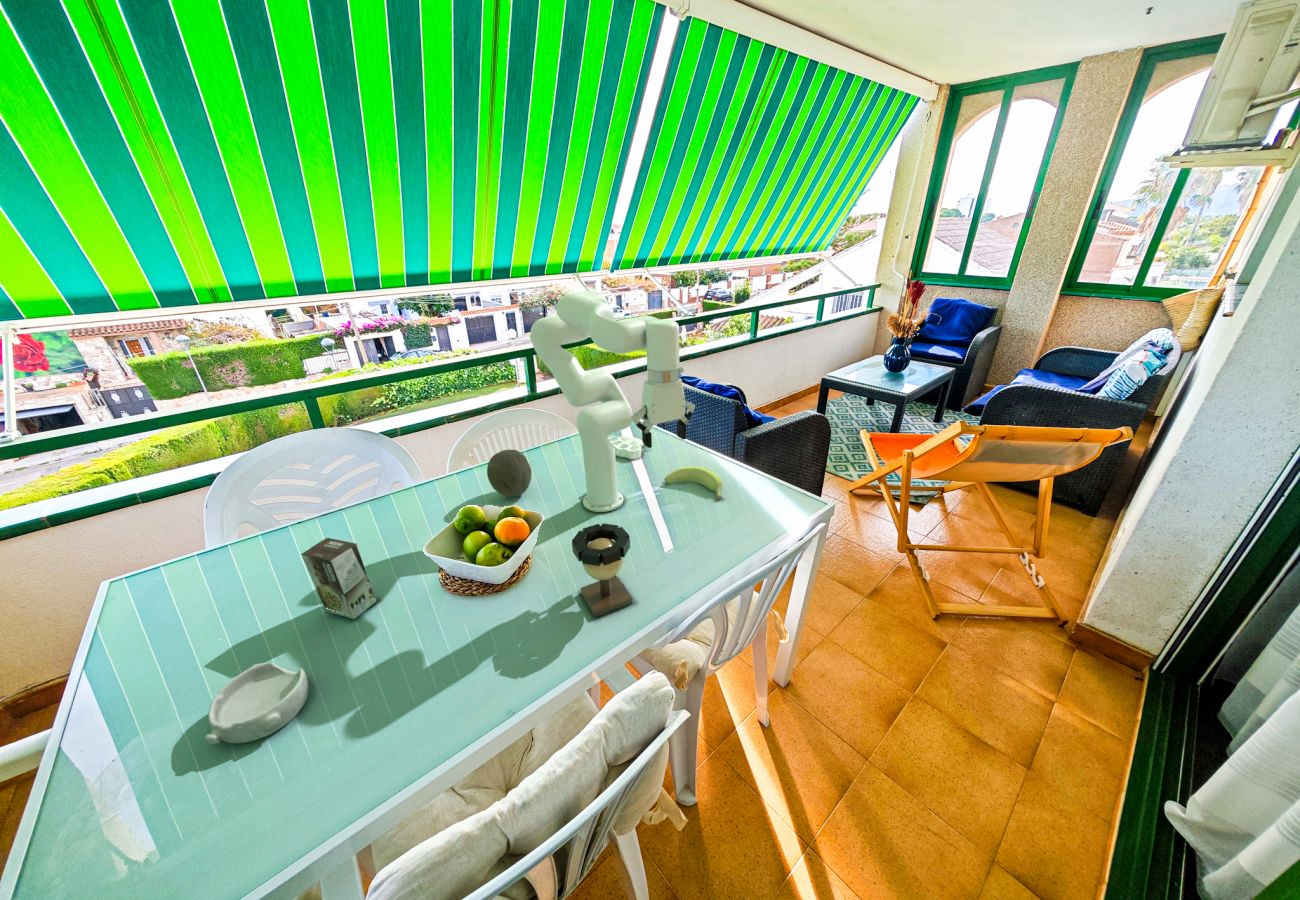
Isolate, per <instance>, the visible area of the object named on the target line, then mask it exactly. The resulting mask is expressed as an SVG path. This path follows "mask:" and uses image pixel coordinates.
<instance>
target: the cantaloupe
mask: <svg viewBox="0 0 1300 900" xmlns="http://www.w3.org/2000/svg"><path fill="white" fill-rule="evenodd" d="M532 474H533V473H532V467H531V465H530V463H529V461H528V458H527V457H526V455H525V454H524V453H523V452H521V451H519V450H517V449H503V450H500V451H499V452H496V453H495V454H493V455H492V457H491V458H490V459H489V461H488V463H487V468H486V475H487V479H488V482H489V484H490V486H491V487H492V489H493V490H494V491H495V492H497V494H499V495H501V496H503V497H506V496H507V498H514V497H518V496H522V495H523V494H525V493H526V492H527V490H528V488H529V486H530V484H531V481H532Z"/></svg>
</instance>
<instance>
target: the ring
mask: <svg viewBox="0 0 1300 900" xmlns="http://www.w3.org/2000/svg"><path fill="white" fill-rule="evenodd" d="M599 538H607V539H611V540H613V541H614V542H616V543H615V544H614V545H613V546H610V547H607V548H604V549H601V550H600V549H594V548H588V547H587V545H588V544H589V543H590V542H592V541H593V540H595V539H599ZM630 548H631V538H630V534H629V533H628V532H627V531H626V530H625V528H624V527H623V526H620V525H618V524H612V523H611V524H610V523H604V522H602V524H601V525H600V523H596V524H593V525H589V526H586V527H583V528H582V530H579V531H578V532H577V533H576V534H575V536H574V537H573V538H572V540H571V549H572V553H573V554H574V556H575V558H576V560H577V561H578V563H580V562H581V564H582V563H583V564H589V565H595V566H600V565H601V563H602V564H603V565H604V566H605V565H608V564H611V563H614V562H616V561H619V560H621V557H623V558H625V557H626V556H627V553H628V552H629V550H630ZM583 564H582V565H583Z"/></svg>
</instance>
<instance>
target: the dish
mask: <svg viewBox="0 0 1300 900" xmlns="http://www.w3.org/2000/svg"><path fill="white" fill-rule="evenodd" d="M309 690H310V689H309V680H308V677H307V674H306V671H305V670H304V669H303V668H300V669H299V670H298V672H295V671H292V670H289V669H287V668H285V667H282V666H280V665H278V664H276V663H274V662H271V661H267V662H262V663H256V664H252V666H250V667H249V668H248V669H246V670H244V671H242V672H241V673H239V674H238V675H236V676H234V677H233V678H232V679H230V681H229V682H227V683H225V685H224V686H222V687H221V688H220V689H219V691H218V693H217V694H216V696H215V697H213V698H212V700H211V703H210V705H209V709H208V715H207V717H208V718H207V719H208V724H209V726H210V728H211V732H210V733H208V734H206V735H205V738H204V739H205V741H206V742H207V743H208V744H210V745H218V744H220V743H221V742H226V743H229V744H244V743H249V742H250V743H251V742H253V741H257V740H259V739H262V738H263V739H264V738H265V737H268V736H269V735H272V734H273V733H275V732H277V731H279V730H280V729H282V728H283V727H284V726H286V725H287V724H288V723H289V722H291V720H293V719H294V718H295V717H296V716H297V715H298V713H299V712H300V710H301V709H302V708H303V707H304V705H305V704H306V702H307V700H308V697H309Z"/></svg>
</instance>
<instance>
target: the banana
mask: <svg viewBox="0 0 1300 900" xmlns="http://www.w3.org/2000/svg"><path fill="white" fill-rule="evenodd" d="M663 480H664V484H675V483H682V482H690V483H698V484H701V485H703V486H705V487H707V488H708V489H709V490H711V491H713V492H716V497H715V498H716V499H717V500H722V498H723V497H722V494H721V490H722V489H723V480H722V479H721V476H720V475H719V474H718V473H716V472H715V471H713V470H711V469H708V468H706V467H702V466H696V465H695V466H691V465H690V466H684V467H679V468H677V469H674V470H673V471H671V472H670V473H668V474H667V475H666V476H665V478H664V479H663Z"/></svg>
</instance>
